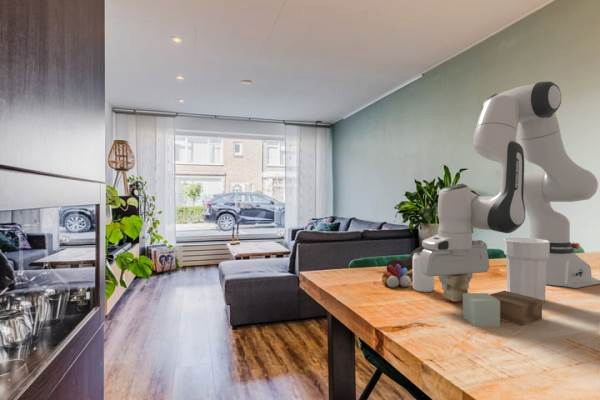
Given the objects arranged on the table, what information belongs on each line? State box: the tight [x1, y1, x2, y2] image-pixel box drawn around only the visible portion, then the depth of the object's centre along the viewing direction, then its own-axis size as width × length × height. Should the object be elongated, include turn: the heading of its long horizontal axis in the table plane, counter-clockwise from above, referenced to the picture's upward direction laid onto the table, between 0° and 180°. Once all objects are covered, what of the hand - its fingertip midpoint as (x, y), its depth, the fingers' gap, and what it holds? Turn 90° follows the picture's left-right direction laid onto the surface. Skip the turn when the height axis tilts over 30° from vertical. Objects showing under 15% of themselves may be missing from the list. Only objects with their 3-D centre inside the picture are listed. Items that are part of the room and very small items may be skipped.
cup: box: [503, 237, 550, 304], centre depth 97 cm, size 11×11×17 cm
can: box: [412, 252, 435, 293], centre depth 107 cm, size 6×6×12 cm
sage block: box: [462, 292, 501, 327], centre depth 80 cm, size 6×6×6 cm
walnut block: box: [488, 290, 543, 327], centre depth 83 cm, size 9×9×5 cm
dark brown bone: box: [386, 246, 425, 273], centre depth 132 cm, size 11×10×28 cm
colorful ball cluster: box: [381, 264, 412, 289], centre depth 113 cm, size 8×10×7 cm
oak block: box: [443, 274, 469, 302], centre depth 95 cm, size 4×4×7 cm
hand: (455, 289), depth 95 cm, fingers closed on oak block, 4 cm apart
